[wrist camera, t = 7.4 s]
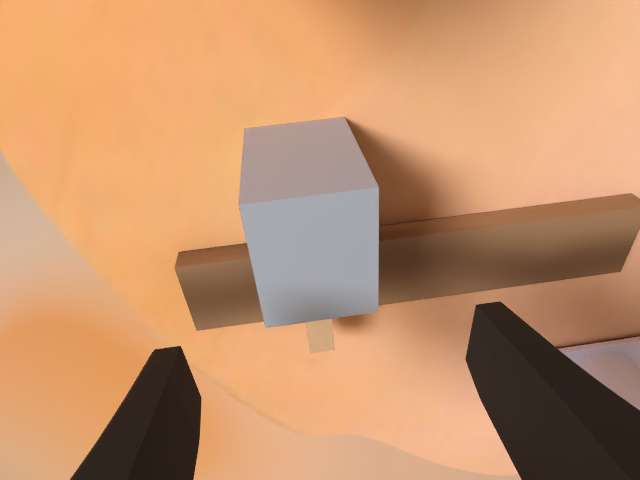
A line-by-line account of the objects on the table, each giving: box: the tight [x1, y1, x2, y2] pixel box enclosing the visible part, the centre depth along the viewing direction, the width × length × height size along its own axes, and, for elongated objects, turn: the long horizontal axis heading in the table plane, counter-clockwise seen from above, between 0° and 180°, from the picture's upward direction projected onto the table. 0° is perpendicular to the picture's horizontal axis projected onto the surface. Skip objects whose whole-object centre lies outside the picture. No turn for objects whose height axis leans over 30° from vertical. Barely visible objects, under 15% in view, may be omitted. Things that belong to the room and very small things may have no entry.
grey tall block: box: [239, 117, 379, 353], centre depth 17 cm, size 10×4×6 cm, turn 4°
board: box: [175, 194, 640, 331], centre depth 21 cm, size 4×22×1 cm, turn 94°
